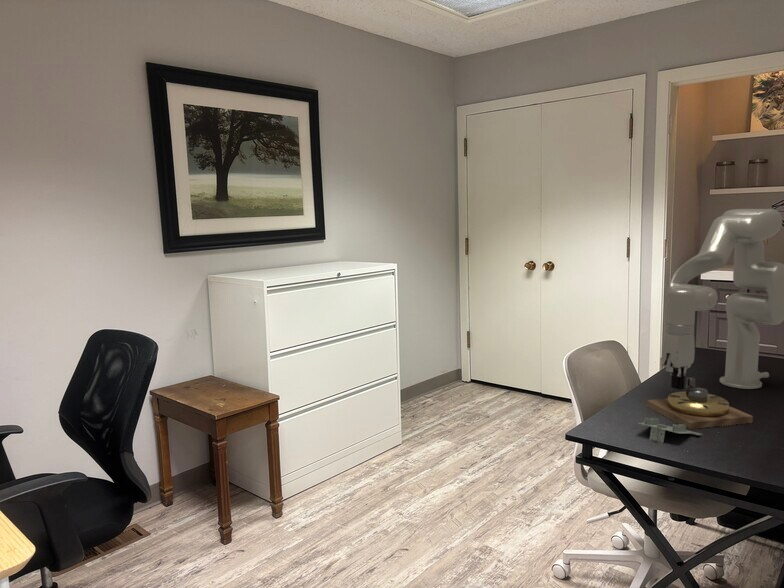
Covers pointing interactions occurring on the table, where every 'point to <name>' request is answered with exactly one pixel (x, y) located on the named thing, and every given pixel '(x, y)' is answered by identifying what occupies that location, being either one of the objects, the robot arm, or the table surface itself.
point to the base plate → (699, 421)
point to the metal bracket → (661, 429)
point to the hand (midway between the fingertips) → (677, 388)
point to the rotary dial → (697, 401)
